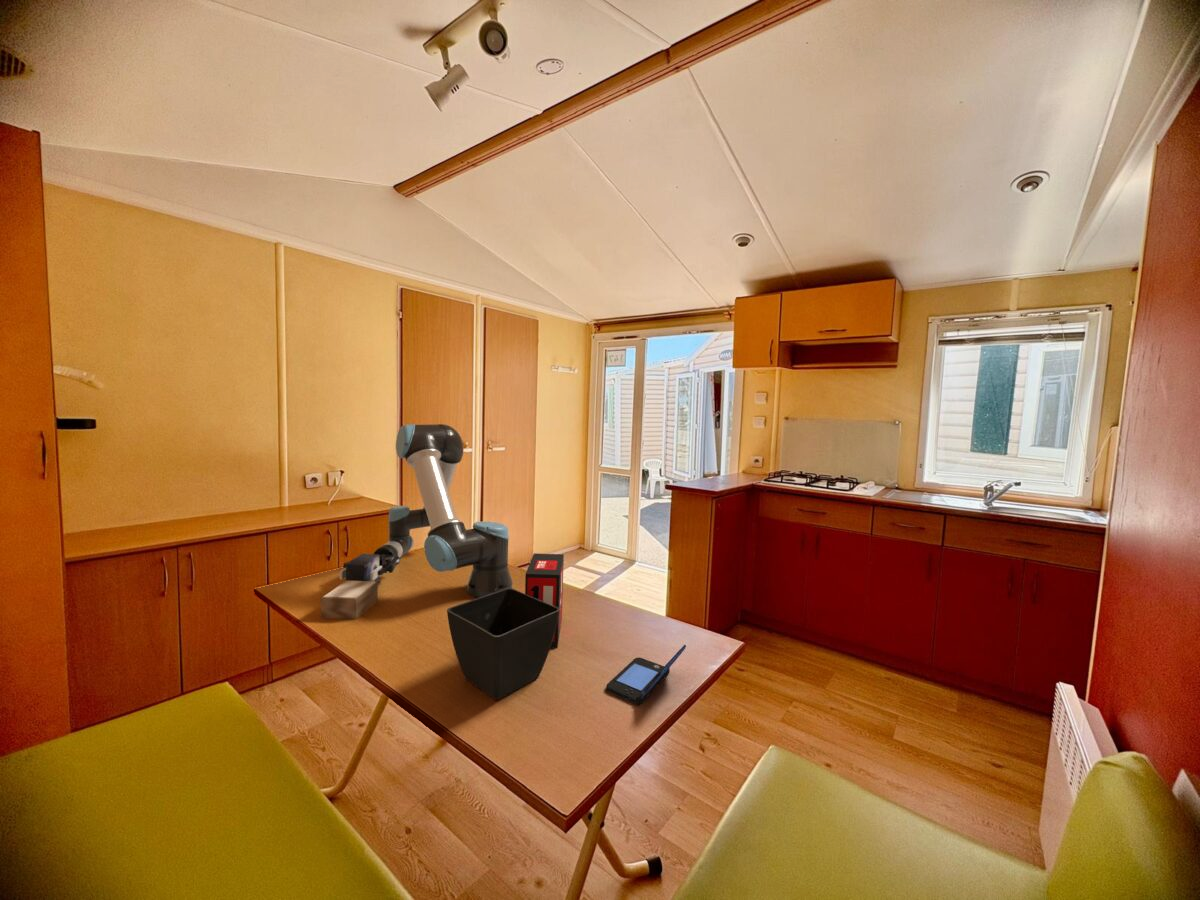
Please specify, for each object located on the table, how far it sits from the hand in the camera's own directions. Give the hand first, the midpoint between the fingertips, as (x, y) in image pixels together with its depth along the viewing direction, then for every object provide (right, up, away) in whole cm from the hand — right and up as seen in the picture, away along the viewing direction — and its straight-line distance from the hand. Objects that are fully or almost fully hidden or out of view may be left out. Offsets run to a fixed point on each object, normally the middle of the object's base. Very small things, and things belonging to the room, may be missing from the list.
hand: (356, 576), depth 149 cm
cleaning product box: (+64, -11, -20) cm, 68 cm away
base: (+4, -7, -10) cm, 13 cm away
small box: (0, -6, +5) cm, 8 cm away
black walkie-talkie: (+90, -14, -42) cm, 101 cm away
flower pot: (+57, -12, -42) cm, 71 cm away
